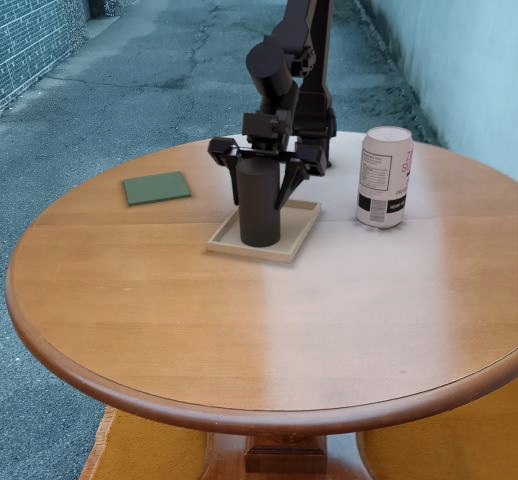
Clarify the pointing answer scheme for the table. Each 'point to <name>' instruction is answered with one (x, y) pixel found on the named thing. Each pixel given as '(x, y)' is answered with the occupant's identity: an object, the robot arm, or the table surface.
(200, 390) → the table surface
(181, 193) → the plate
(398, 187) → the supplement can
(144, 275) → the table surface
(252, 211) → the dark grey cylinder
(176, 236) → the table surface
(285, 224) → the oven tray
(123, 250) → the table surface
